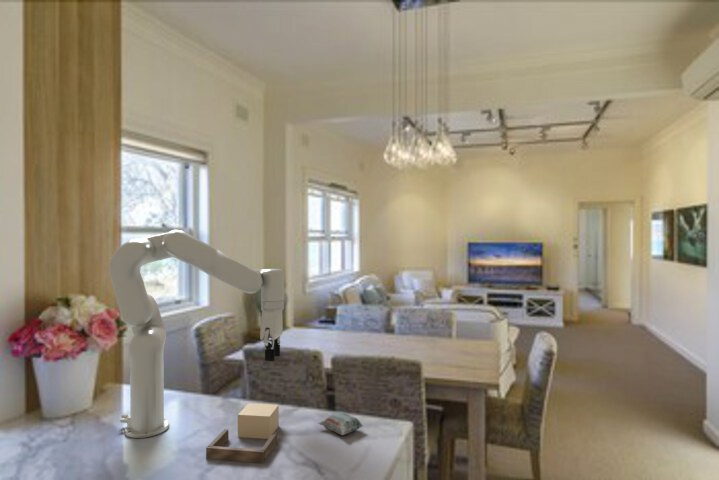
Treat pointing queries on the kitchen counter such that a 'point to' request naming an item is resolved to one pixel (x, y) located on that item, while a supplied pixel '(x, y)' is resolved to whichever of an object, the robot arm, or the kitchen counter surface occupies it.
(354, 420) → the packaged food
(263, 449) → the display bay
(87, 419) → the kitchen counter surface
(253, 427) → the carton
